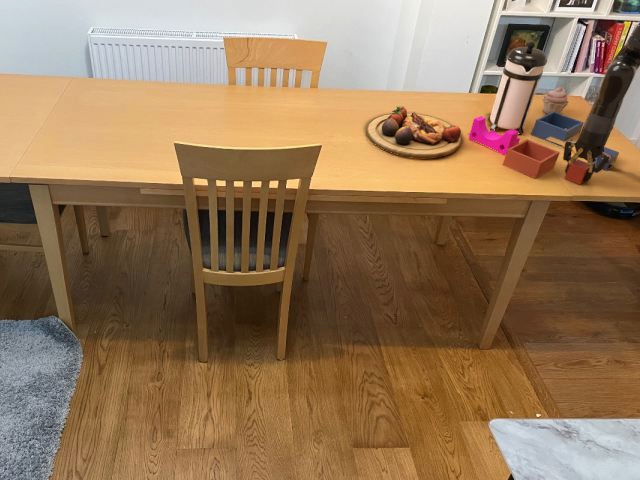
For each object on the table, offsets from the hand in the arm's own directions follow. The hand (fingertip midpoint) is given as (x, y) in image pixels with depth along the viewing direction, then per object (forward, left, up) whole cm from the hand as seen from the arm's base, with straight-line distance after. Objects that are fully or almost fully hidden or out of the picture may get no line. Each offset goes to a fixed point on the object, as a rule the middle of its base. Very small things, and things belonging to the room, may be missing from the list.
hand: (576, 177), depth 184 cm
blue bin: (+20, -24, -1) cm, 31 cm away
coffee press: (+36, -17, -1) cm, 40 cm away
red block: (0, 0, 0) cm, 0 cm away
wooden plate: (+50, +18, -1) cm, 53 cm away
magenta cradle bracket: (+30, 0, -1) cm, 30 cm away
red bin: (+14, +4, -1) cm, 15 cm away
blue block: (-1, -16, -1) cm, 16 cm away
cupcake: (+31, -42, -1) cm, 52 cm away
